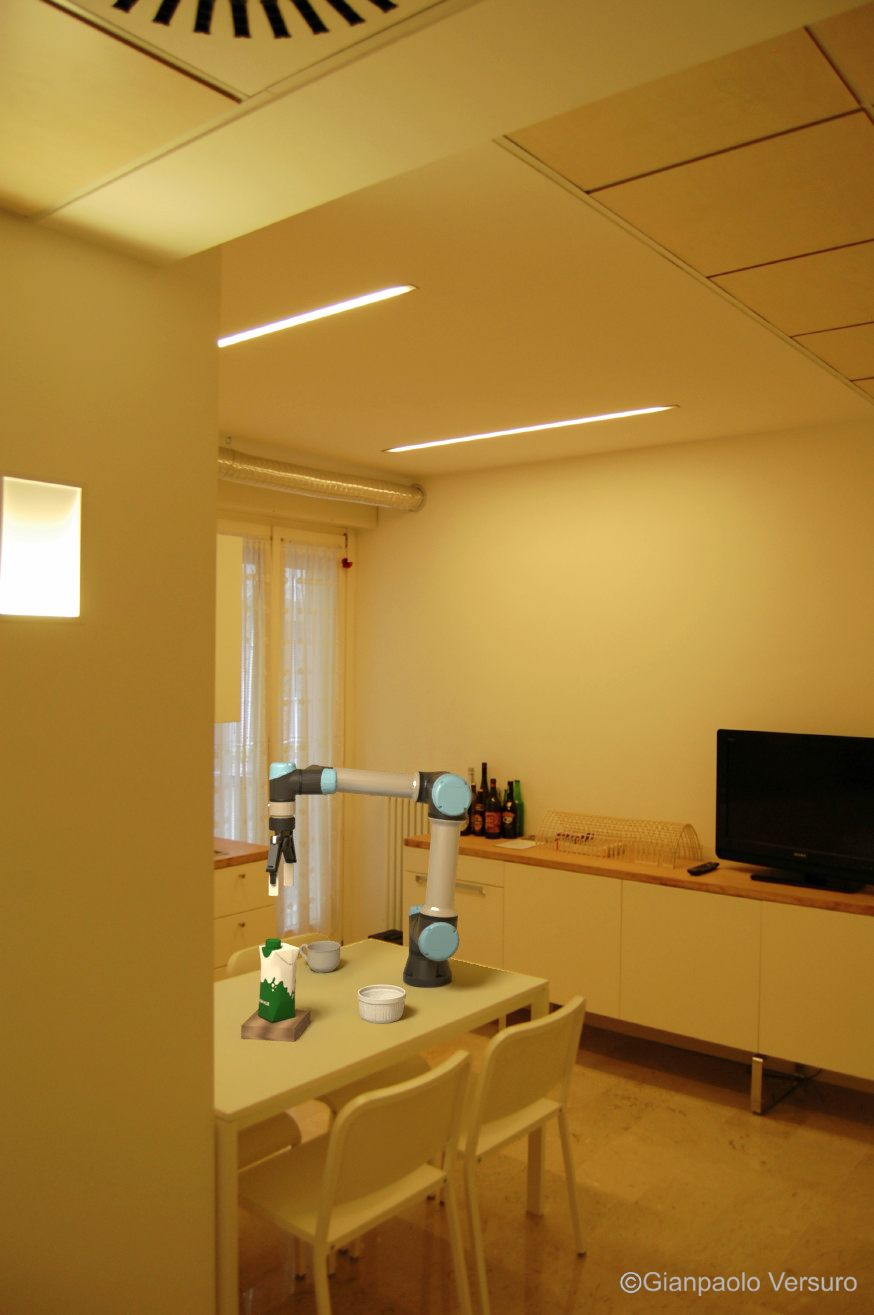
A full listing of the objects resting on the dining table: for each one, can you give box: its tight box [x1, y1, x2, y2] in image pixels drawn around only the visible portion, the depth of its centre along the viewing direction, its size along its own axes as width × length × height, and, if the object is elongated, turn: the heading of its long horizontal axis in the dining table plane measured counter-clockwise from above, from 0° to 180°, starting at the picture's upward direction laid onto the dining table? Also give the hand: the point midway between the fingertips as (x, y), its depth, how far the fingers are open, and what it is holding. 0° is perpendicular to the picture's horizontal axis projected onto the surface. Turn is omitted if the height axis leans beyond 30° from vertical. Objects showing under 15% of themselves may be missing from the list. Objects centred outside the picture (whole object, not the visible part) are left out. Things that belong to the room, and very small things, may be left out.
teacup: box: [299, 940, 341, 974], centre depth 307 cm, size 14×11×8 cm
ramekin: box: [357, 984, 407, 1024], centre depth 262 cm, size 13×13×7 cm
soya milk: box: [257, 937, 300, 1022], centre depth 252 cm, size 9×9×20 cm
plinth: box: [240, 1008, 311, 1043], centre depth 251 cm, size 14×14×4 cm
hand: (281, 890), depth 274 cm, fingers open, 13 cm apart
